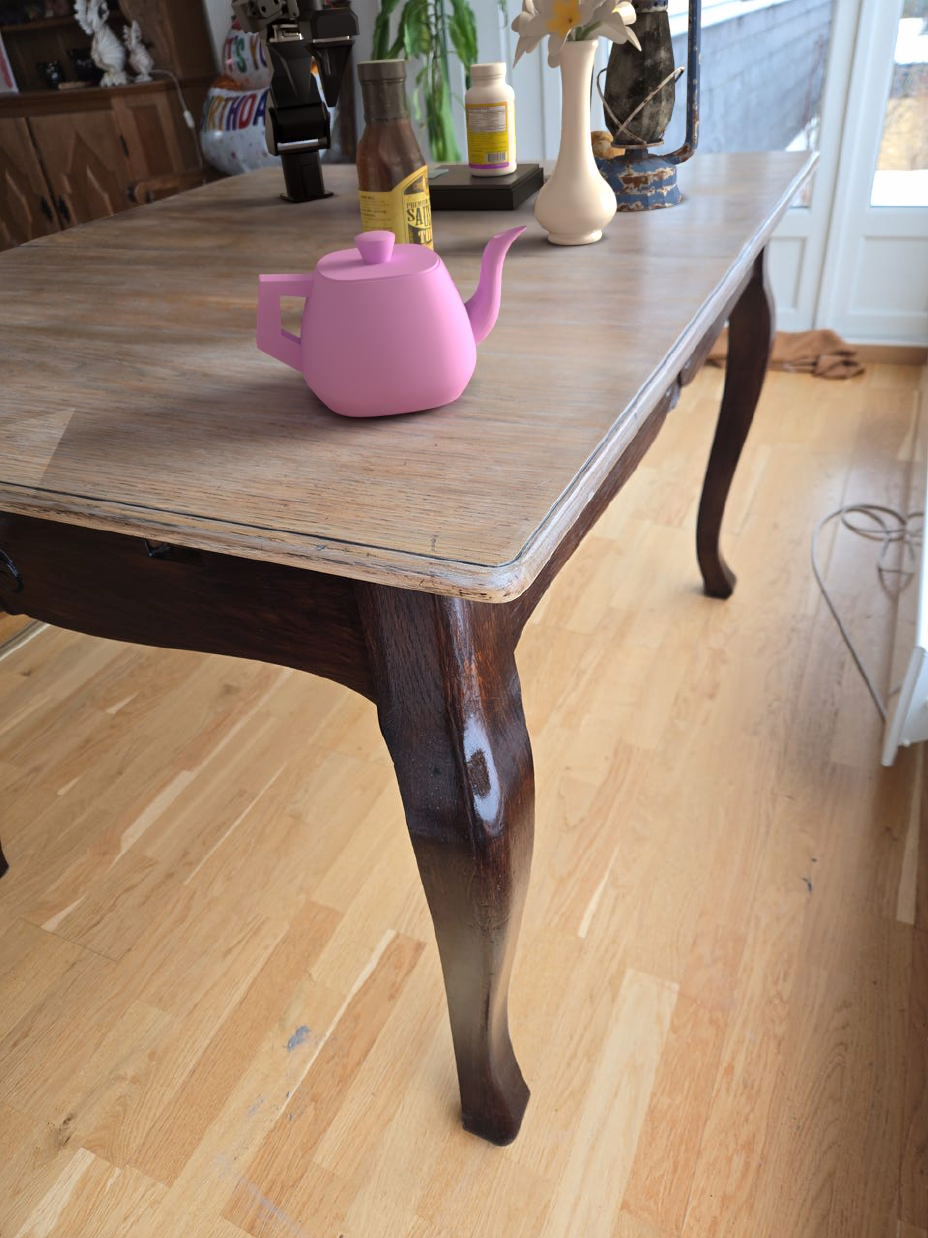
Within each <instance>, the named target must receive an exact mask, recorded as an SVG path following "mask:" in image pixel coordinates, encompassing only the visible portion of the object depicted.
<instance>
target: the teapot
mask: <svg viewBox="0 0 928 1238" xmlns="http://www.w3.org/2000/svg"><path fill="white" fill-rule="evenodd" d="M527 227H528V226H527V225H521V226H517V227H513V228H510V229H507V230H505V231H503V232H500V233H498V234H496V235H494V236H492V238H491V239H490V240H489V241H488V242H487V244H486V245H485V248H484V250H483V253H482V259H481V264H480V274H479V281H478V285H477V288H476V290H475V292H474V294H473V295H472V296H471V297H470V298H469V299H467V300H466V301H465V302H464V300H463V297H462V296H461V295H462V294H461V292H460V291H459V289H458V287H457V285H456V283H455V281H454V279H453V277H452V276H451V274H450V272H449V270H448V268H447V266H446V265H445V263H444V261H443V260H442V259H441V257H440V255H438V253H437V252H436V251H434V249H433V250H432V249H430V248H428V247H426V246H423V245H419V244H409V243H408V244H394V241H395V234H394V233H392V232H389V231H370V232H364V233H363V232H362V233H361V232H360V234H357V235H356V236H354V238H353V240H354V243H355V246H356V247H355V248H348V249H342V250H337V251H333V252H330V253H328V254H326V255H324V256H322V257H321V258H320V259H319V261H318V262H317V264H316V265H315V268H314V271H313V273H267V274H266V273H264V274H263V273H262V274H261V273H260V274H258V291H257V294H258V295H257V314H256V317H257V318H256V338H255V341H256V349H257V350H259V351H261V352H263V353H265V354H267V355H268V356H270V357H272V358H275V359H276V360H278V361H280V362H281V363H283V364H285V365H286V366H289V367H290V368H292V369H294V370H295V371H298V372H300V373H302V376H303V379H304V380H305V382H306V384H307V386H308V387H309V388H310V389H311V391H312V392H313V393H314V394H315V396H317V398H318V399H319V400H320V401H321V402H322V403H323V404H324V405H325V406H326V407H327V408H328V409H329V410H331V411H332V412H334V413H337V414H339V415H341V416H346V417H354V418H363V417H364V418H365V417H368V418H369V417H379V416H380V417H381V416H382V417H383V416H390V415H400V414H408V413H414V412H418V411H425V410H429V409H434V408H439V407H443V406H445V405H448V404H450V403H452V402H454V401H455V400H457V399H458V398H459V397H461V395H462V393H463V392H464V391H465V389H466V387H467V386H468V384H469V382H470V379H471V378H472V375H473V374H474V371H475V368H476V363H477V346H478V345H479V344H481V342H482V341H484V340H485V339H486V338H487V337H488V336H489V334H490V333H491V331H492V330H493V328H494V326H495V324H496V321H497V319H498V316H499V312H500V307H501V306H500V305H501V297H502V296H501V295H502V292H501V291H502V272H503V265H504V261H505V257H506V254H507V253H508V250H509V249H510V247H511V245H512V243H513V242H514V241H515V240H516V239H517V238H518V236H520V235H521V234H522V233H523V232H525V230H526V229H527ZM281 296H287V297H297V298H305V301H304V306H303V310H302V316H301V322H300V333H299V336H297V335H295V334H294V333H292V332H289V331H288V330H286V329H283V328H282V316H281V315H282V313H281Z"/></svg>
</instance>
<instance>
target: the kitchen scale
mask: <svg viewBox="0 0 928 1238" xmlns="http://www.w3.org/2000/svg"><path fill="white" fill-rule="evenodd" d="M544 170H545V169H544V167H543V166H542V167H541V166H540V163H516V170H515V171H514V172H512V173H510V174H506V175H502V176H494V177H479V176H474V175H472V174H471V173H470V171H469V164H441V165H439V166H437V167H436V168H434V169H431V170H430V171H427V174H428V188H429V200H430V211H514V210H516V208H518V207H519V206H521V204H523V203H524V202H525V201H527V200H528V199H529V198H530V197H532V196H533V195H534V194H535V193H536V192H539V191H540V190H541V188H542V187H543V186H544V184H545V180H544V179H545V176H544V175H545V174H544V173H545V171H544Z"/></svg>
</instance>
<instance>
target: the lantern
mask: <svg viewBox="0 0 928 1238" xmlns="http://www.w3.org/2000/svg"><path fill="white" fill-rule="evenodd" d="M631 5H632V6H633V8H634V10H635V14H636V20H635V22H634V23H632V24H628V25H625V26H626V27H629V28H630V29H631V30H632V31H633V32H634V34H635V35H636V37H637V39H638V42H639V44H640V47H641V51H640V50H639V49H637V48H636V47H635V46H634V45H633V44H632V43H631V42H630V41H629V40H628V39H627V40H626V42H625V43H624V44H618V43H615V42H613V41H612V43H611V47H610V53H609V57H608V61H607V67H605V68H602V69H601V70H600V71H599V72H598V74H597V76H596V87H597V92H598V95H599V98H600V100H601V102H602V110H603V119H604V125H605V127H606V128H607V130H608V132H609V133H611V135H612V136H613V141H612V142H611V144H610V145H611V147H613V148H618V149H626V150H625V154H623V155H618V156H615V157H614V158H610V159H607V158H601V157H598V156H596V155H594V154H593V156H594V160H595V163H596V166H597V168H598V171H599V173H600V174H601V176H602V177H603V178H604V179H605V180H606V182H607V183H608V184H609V185H610V187H611V189H612V190H613V192H614V194H615V197H616V202H617V210H616V212H637V211H649V210H657V209H663V208H669V207H671V206H674V205H677V204H679V203H680V202H682V200H683V197H682V194H681V192H680V189H679V186H678V184H677V177H678V176H677V173H678V168H677V165H680V164H683V163H686V162H687V161H688V160H689V159H691V158H692V157H693V156H694V154H695V152H696V150H697V149H698V145H699V141H700V105H701V104H700V101H701V99H700V97H701V96H700V95H701V94H700V93H701V48H702V47H701V46H702V44H701V43H702V41H701V40H702V0H688V8H687V9H688V14H687V16H688V18H687V22H688V23H687V60H686V61H687V63H686V64H687V67H685V66H683V65H681V66H679V67H678V68H675V67H676V64H675V56H674V49H673V41H672V35H671V27H670V26H671V25H670V22H669V21H670V19H669V12H668V11H667V10H668V8H669V0H632V2H631ZM594 68H595V64H594V65H593V68H592V75H591V86H590V113H591V112H592V111H591V110H592V97H593V84H594V71H595V69H594ZM686 68H687V69H686ZM685 70H686V112H685V113H686V117H685V139H684V142H683V144H682V146H680V147H679V148H678V149H675V150H674V151H672V152H669V153H665V154H659V155H658V154H655V153H649V149H650V148H655V147H660V146H663V145H665V140H664V139H663V138H664V137H665V134H666V131H667V126H668V125H669V124H670V122H671V121H672V117H673V113H674V107H675V102H676V83H677V82H678V81H679V80H680V78H681V77H682V75H683V74H684V72H685ZM604 72H606V73H605V82H604V89H603V91H604V92H602V88H601V85H600V76H601V74H602V73H604ZM676 75H677V76H676Z"/></svg>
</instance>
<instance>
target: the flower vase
mask: <svg viewBox="0 0 928 1238" xmlns="http://www.w3.org/2000/svg"><path fill="white" fill-rule="evenodd" d="M631 2H632V0H522V3H521V4H522V5H521V12H520V14H518V15H517V16H516V17H515V18H514V19H513V20H512V22H511V24H510V29H511V30H512V32H514V33H518V36H519V37H518V40H517V42H516V43H517V44H516V48H515V52H514V59H513V64H512V70H514V69H515V67H516V65H517V64H518V62H519V61H520V59H521V58H522V56H523V55H524V53H526V54H532V53H533V51H534V50H535V49H536V48H537V47H538V46H539V44H540V43H541V42H542V41H543V40H544V39H545V38H546V37H547V36H548V35H549V37H548V39H547V51H548V55H547V65H548V67H549V68H551V69H556V68H558V67H559V72H560V77H561V80H560V81H561V119H560V121H561V124H560V141H559V142H560V143H559V149H558V154H557V159H556V161H555V165H554V167H553V170H552V172H551V175H550V176H549V178H548V179H547V181H546V182H544V186H543V187H541V188H540V189H539V190H538V193H537V195H536V197H535V199H534V203H533V215H534V218H535V220H536V222H537V223H538V224H539V226H540V227H541V228H542V229H543V230H545V231H547V232H548V233H547V240H548V241H549V242H550V243H551V244H555V245H560V246H581V245H588V244H592V243H595V242H597V241H599V240H601V238H602V236H603V232H602V229H604V228H606V227H607V226H608V225H609V224H610V222H611V221H612V219H613V218H614V216H615V215H616V213H617V211H616V210H617V202H616V197H615V194H614V192H613V190H612V189H611V187H610V185H609V184H608V183H607V182H606V180H605V179H604V178H603V177H602V176H601V174H600V173H599V171H598V168H597V166H596V163H595V160H594V156H593V152H592V145H591V132H592V130H591V112H590V86H591V75H592V68H593V65H594V66H595V57H596V53H597V49H598V47H599V45H600V41H599V37H603V38H605V39H608V40H609V41H611V42H612V43H613V42H615V43H618V44H624V43H625V42H626V40H627V39H628V40H629V41H630V42H631V43H632V44H633V45H634V46H635V47H636V48H637V49H639V50H640V51H641V47H640V44H639V42H638V39H637V37H636V35H635V34H634V32H633V31H632V30H631V29H630V28H629V27H626V26H625V25H628V24H632V23H634V22H635V20H636V14H635V10H634V8H633V6H632V5H631Z"/></svg>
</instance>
